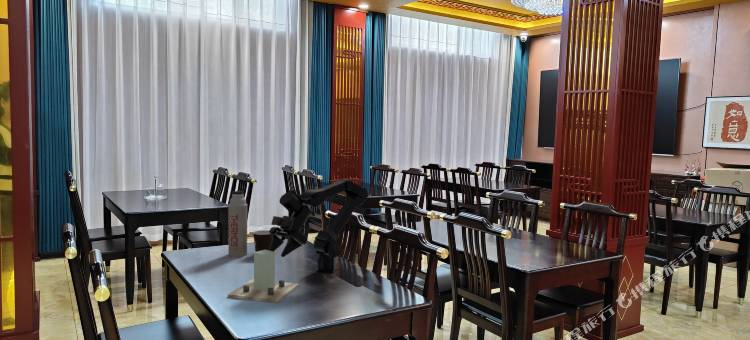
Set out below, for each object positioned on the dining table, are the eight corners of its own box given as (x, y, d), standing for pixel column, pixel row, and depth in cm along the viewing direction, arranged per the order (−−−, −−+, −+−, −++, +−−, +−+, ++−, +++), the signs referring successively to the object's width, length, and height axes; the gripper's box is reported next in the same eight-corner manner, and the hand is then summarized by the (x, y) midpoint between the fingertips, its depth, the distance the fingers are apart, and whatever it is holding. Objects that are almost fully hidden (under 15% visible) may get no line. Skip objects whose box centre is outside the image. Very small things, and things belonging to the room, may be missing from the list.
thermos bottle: (238, 257, 226) (238, 193, 224) (224, 255, 230) (224, 191, 228) (251, 253, 234) (251, 191, 231) (237, 251, 237) (237, 189, 235)
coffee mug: (270, 257, 228) (270, 234, 227) (250, 256, 229) (250, 234, 228) (276, 250, 240) (276, 229, 239) (257, 250, 240) (257, 228, 239)
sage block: (264, 285, 187) (264, 249, 186) (274, 288, 184) (275, 251, 183) (253, 289, 183) (254, 252, 181) (264, 292, 180) (264, 254, 179)
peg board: (298, 286, 190) (298, 278, 190) (277, 303, 172) (277, 294, 172) (252, 281, 194) (252, 273, 194) (227, 297, 177) (227, 288, 176)
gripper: (270, 205, 201) (247, 240, 195) (296, 208, 187) (272, 245, 181) (290, 222, 207) (269, 256, 201) (317, 226, 193) (294, 262, 186)
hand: (275, 255), depth 192 cm, fingers open, 9 cm apart
